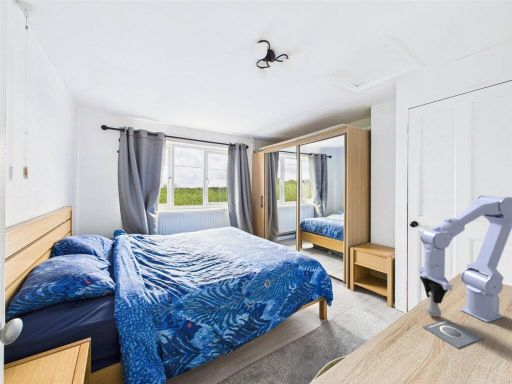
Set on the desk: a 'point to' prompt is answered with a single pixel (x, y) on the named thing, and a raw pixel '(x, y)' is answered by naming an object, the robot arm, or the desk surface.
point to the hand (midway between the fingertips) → (433, 299)
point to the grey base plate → (452, 333)
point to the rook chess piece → (433, 307)
